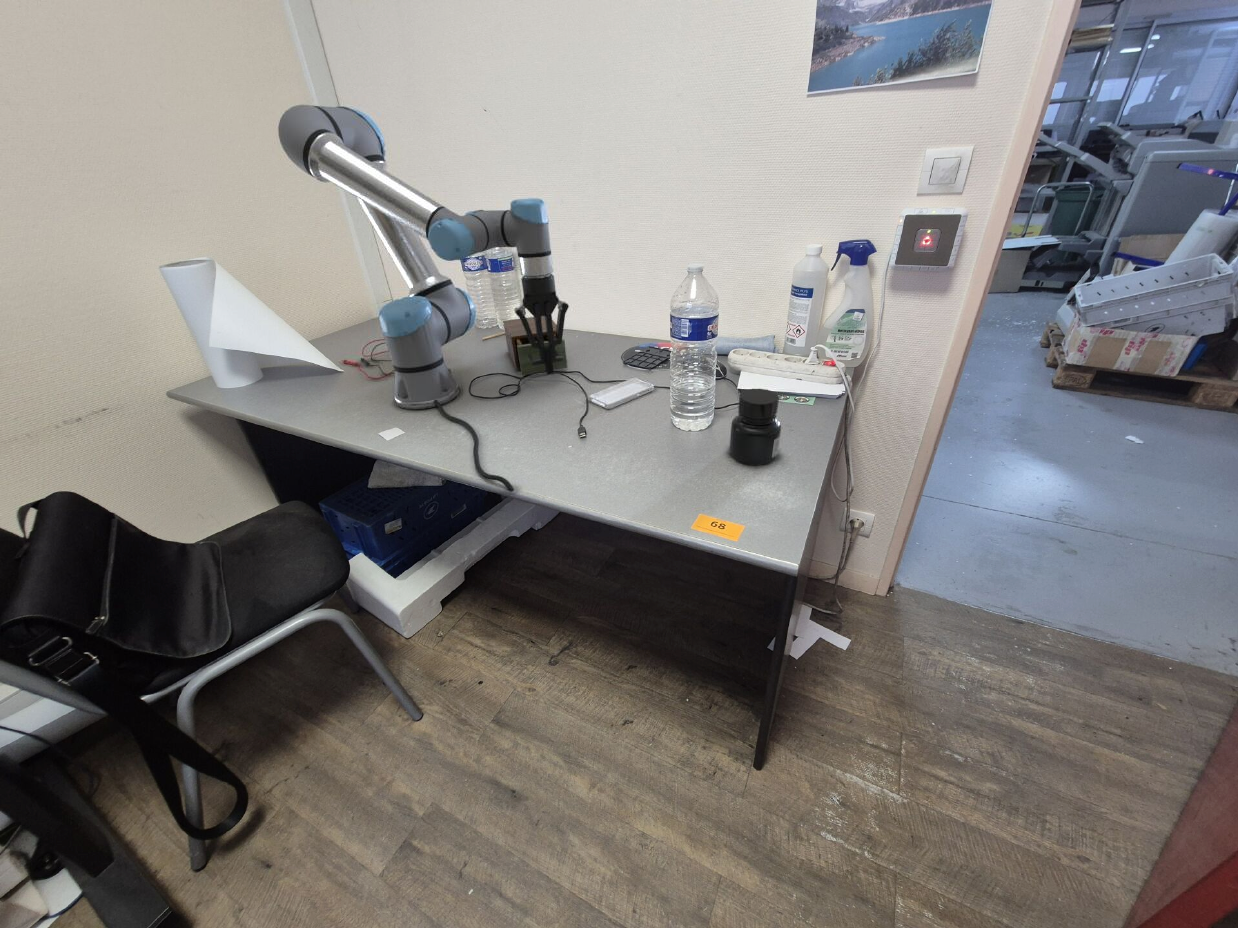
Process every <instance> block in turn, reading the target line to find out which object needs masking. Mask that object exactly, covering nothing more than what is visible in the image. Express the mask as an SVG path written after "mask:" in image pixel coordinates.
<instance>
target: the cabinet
mask: <svg viewBox="0 0 1238 928" xmlns="http://www.w3.org/2000/svg"><path fill="white" fill-rule="evenodd" d="M526 319H527V322H528V324H529V327H530V329H531V332H532V334H533V337H534V336H537V334H536V327H535V320H534V316H529V317H526ZM502 323H503V330H504V335H505V340H506V341H505V342H506V346H507V352H508V355H509V356H510V359H511V361H512V364H513V366H514V368H515V370H516V371H517V372H518V371H521V367H520V363H519V361H518V357H517V351H516V345H515V339H520V338H527V337H528V336H527V334H526V331H525V329H524V326H523V324H522V322H521V319H520V318H515V319H507V320H503V321H502ZM541 323H542V331H543V335H547V330H546V322H545V316H542V317H541ZM552 325H553V333H556V326H557V322H555V321H554V320H553V319H552Z"/></svg>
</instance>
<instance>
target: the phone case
mask: <svg viewBox="0 0 1238 928" xmlns="http://www.w3.org/2000/svg"><path fill="white" fill-rule="evenodd" d="M654 387H655V386H654V384H652V383H650V382H647V381H644V380H641V379H639V378H636V377H634V378H630V379H627V380H625V381H622V382H620V383H617V384H615V385H612V386H610V387H607V388H605V389H602V390H600V391H597V392H594V393H592V394H590V395H589V398H588V399H589V402H591V403H593V404H595V405H597V406H600V407H602V408H603V409H606V410H612V409H614V408H616V407H619V406H621V405H623V404H625V403H627V402H630V401H633V400H635V399H638V398H640V397H642V396H644V395H647V394H649V393H651V392H653V391H654V390H655V388H654Z"/></svg>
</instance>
